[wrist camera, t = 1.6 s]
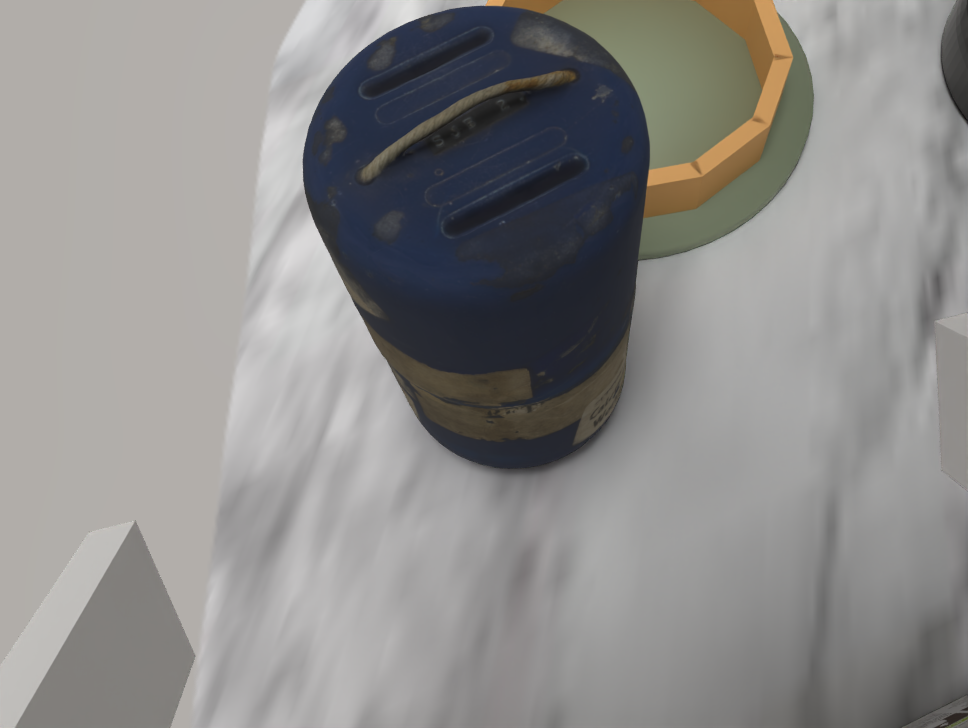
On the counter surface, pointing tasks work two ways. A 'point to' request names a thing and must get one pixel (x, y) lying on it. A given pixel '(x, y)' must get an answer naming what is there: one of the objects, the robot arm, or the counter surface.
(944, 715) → the coffee box
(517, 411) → the canister
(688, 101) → the green orange round dish
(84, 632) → the robot arm
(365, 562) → the counter surface
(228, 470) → the counter surface
